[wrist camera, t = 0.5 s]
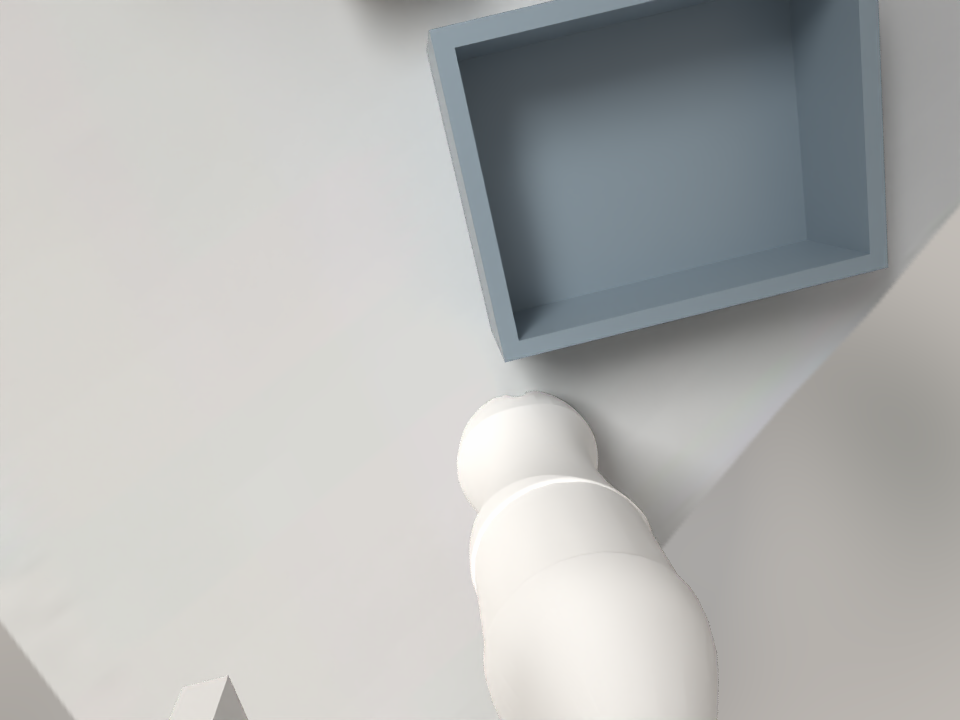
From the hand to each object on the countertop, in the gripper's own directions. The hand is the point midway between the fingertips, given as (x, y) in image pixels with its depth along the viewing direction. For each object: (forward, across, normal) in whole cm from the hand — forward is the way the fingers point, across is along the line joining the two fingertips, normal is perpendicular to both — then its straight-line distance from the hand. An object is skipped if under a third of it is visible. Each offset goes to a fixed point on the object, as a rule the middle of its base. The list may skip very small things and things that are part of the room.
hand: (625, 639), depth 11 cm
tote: (+24, +9, +6) cm, 27 cm away
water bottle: (+24, 0, -8) cm, 26 cm away
